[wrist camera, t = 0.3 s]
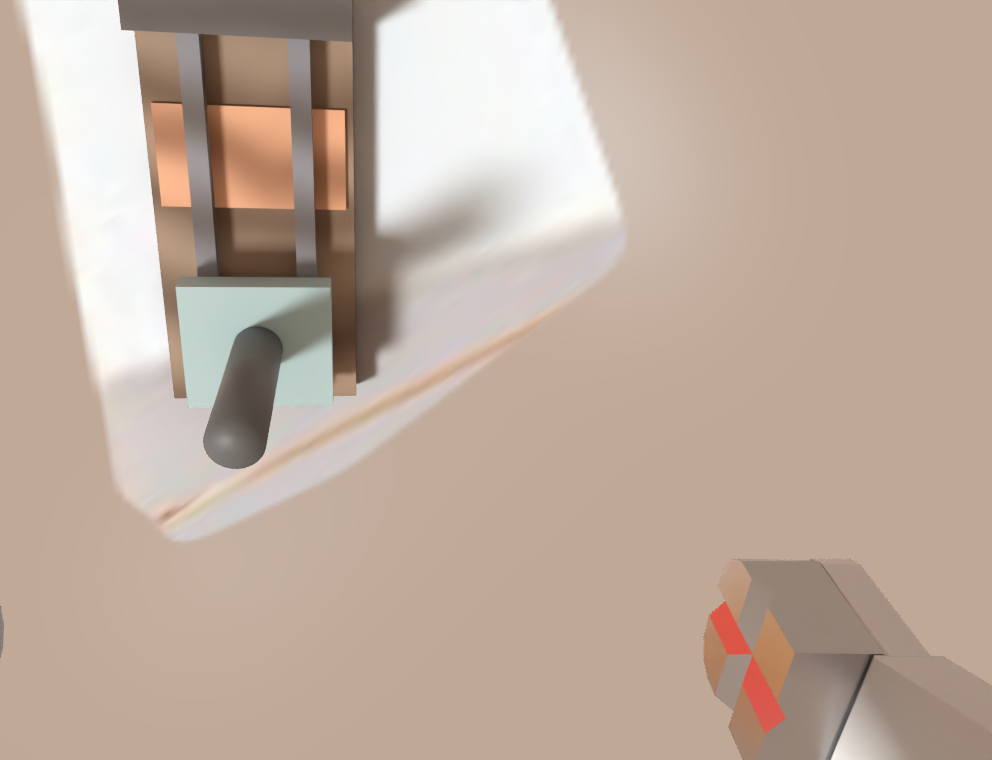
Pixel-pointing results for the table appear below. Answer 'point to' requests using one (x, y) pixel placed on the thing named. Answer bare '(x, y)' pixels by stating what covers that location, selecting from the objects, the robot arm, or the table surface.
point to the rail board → (251, 148)
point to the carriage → (253, 355)
